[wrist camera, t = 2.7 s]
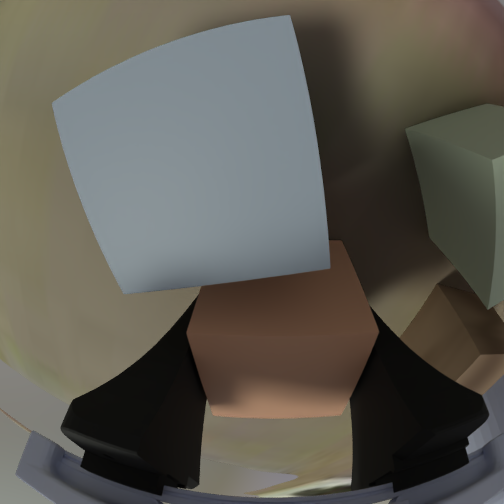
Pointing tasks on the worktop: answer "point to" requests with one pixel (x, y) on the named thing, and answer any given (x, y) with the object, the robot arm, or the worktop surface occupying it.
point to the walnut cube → (459, 338)
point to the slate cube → (201, 160)
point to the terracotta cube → (283, 342)
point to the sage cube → (465, 192)
